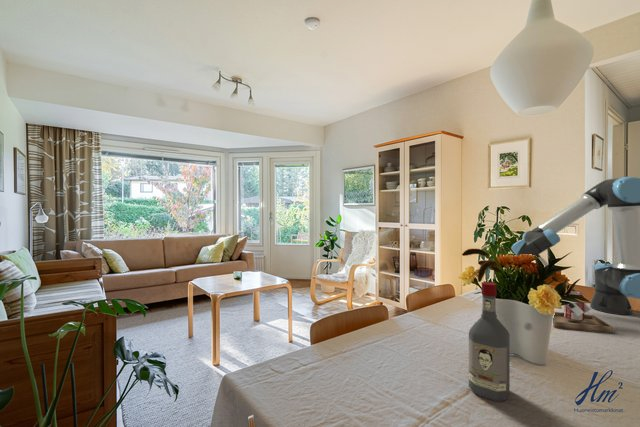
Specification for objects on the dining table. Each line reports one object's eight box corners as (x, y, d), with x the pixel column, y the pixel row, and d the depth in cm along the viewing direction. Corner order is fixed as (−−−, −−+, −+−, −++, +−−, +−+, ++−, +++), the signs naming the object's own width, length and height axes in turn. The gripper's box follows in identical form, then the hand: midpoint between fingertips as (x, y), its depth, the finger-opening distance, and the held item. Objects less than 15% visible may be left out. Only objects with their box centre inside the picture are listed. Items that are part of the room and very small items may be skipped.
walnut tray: (593, 320, 137) (593, 315, 137) (613, 333, 122) (613, 327, 122) (541, 316, 143) (541, 310, 143) (554, 327, 129) (554, 321, 129)
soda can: (585, 323, 128) (585, 295, 128) (564, 320, 132) (564, 292, 132) (583, 319, 133) (583, 292, 133) (563, 316, 138) (564, 289, 137)
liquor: (474, 378, 91) (474, 278, 91) (510, 389, 85) (510, 282, 85) (466, 392, 84) (466, 284, 83) (505, 405, 78) (505, 289, 78)
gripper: (544, 271, 151) (585, 312, 137) (524, 275, 140) (567, 321, 127) (557, 262, 146) (601, 304, 133) (537, 266, 136) (583, 312, 122)
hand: (584, 312), depth 130 cm, fingers open, 7 cm apart
